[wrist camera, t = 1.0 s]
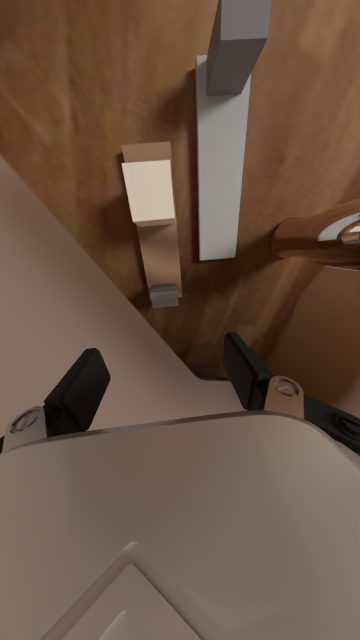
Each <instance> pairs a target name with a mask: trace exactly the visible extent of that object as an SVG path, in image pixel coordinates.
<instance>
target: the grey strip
mask: <svg viewBox="0 0 360 640" xmlns="http://www.w3.org/2000/svg"><path fill="white" fill-rule="evenodd" d="M271 4H272V0H219V1H218V6H217V11H216V16H215V21H214V26H213V30H212V35H211V40H210V45H209V50H208V55H203V56H197V59H196V66H195V73H196V125H197V177H198V228H199V260H200V261H201V260H212V259H222V258H233V257H235V253H236V242H237V230H238V219H239V207H240V196H241V184H242V173H243V161H244V150H245V138H246V127H247V115H248V104H249V93H250V81H251V72H252V70H253V68H254V66H255V64H256V61H257V59H258V57H259V55H260V53H261V51H262V49H263V47H264V45H265V43H266V41H267V38H268V31H269V22H270V13H271Z"/></svg>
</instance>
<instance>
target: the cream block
mask: <svg viewBox="0 0 360 640" xmlns="http://www.w3.org/2000/svg"><path fill="white" fill-rule="evenodd" d="M121 164H122V169H123V174H124V179H125V184H126V189H127V194H128V199H129V205H130V210H131V215H132V220H133V222H134V223H135V224H137V225H138V226H140V227H144V226H155V225H167V224H173V223H174V219H175V216H174V203H173V191H172V179H171V167H170V160H159V161H146V162H133V163H121Z"/></svg>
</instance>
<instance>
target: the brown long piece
mask: <svg viewBox="0 0 360 640" xmlns="http://www.w3.org/2000/svg"><path fill="white" fill-rule="evenodd" d="M122 151H123V156H124V161H125V163H133V162H146V161H159V160H170V167H171V179H172V191H173V203H174V216H175V219H174V223H173V224H167V225H155V226H144V227H140V226H138V225H137V224H136V226H137V231H138V236H139V242H140V247H141V252H142V258H143V263H144V269H145V274H146V279H147V285H148V290H149V295H150V300H152V306H153V308H160V307H169V306H179V304H178V297H182V286H181V273H180V260H179V247H178V235H177V222H176V209H175V196H174V183H173V170H172V157H171V145H170V142H157V143H143V144H129V145H122Z"/></svg>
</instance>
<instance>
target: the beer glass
mask: <svg viewBox="0 0 360 640" xmlns="http://www.w3.org/2000/svg"><path fill="white" fill-rule="evenodd" d="M271 250H272V253H273V254H274V255H275V256H276V257H278V258H290V257H301V258H304V259H307V260H310V261H313V262H316V263H319V264H322V265H326V266H330V267H335V268H341V269H350V270H360V198H357V199H354V200H351V201H348V202H346V203H343V204H340V205H338V206H336V207H333V208H331V209H329V210H326V211H324V212H322V213H319V214H317V215H314V216H311V217H305V218H304V217H293V218H289V219H287V220H285V221H283V222H282V223H281V224H280V225H279V226H278V227H277V228H276V230H275V231H274V233H273V235H272V238H271Z"/></svg>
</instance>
